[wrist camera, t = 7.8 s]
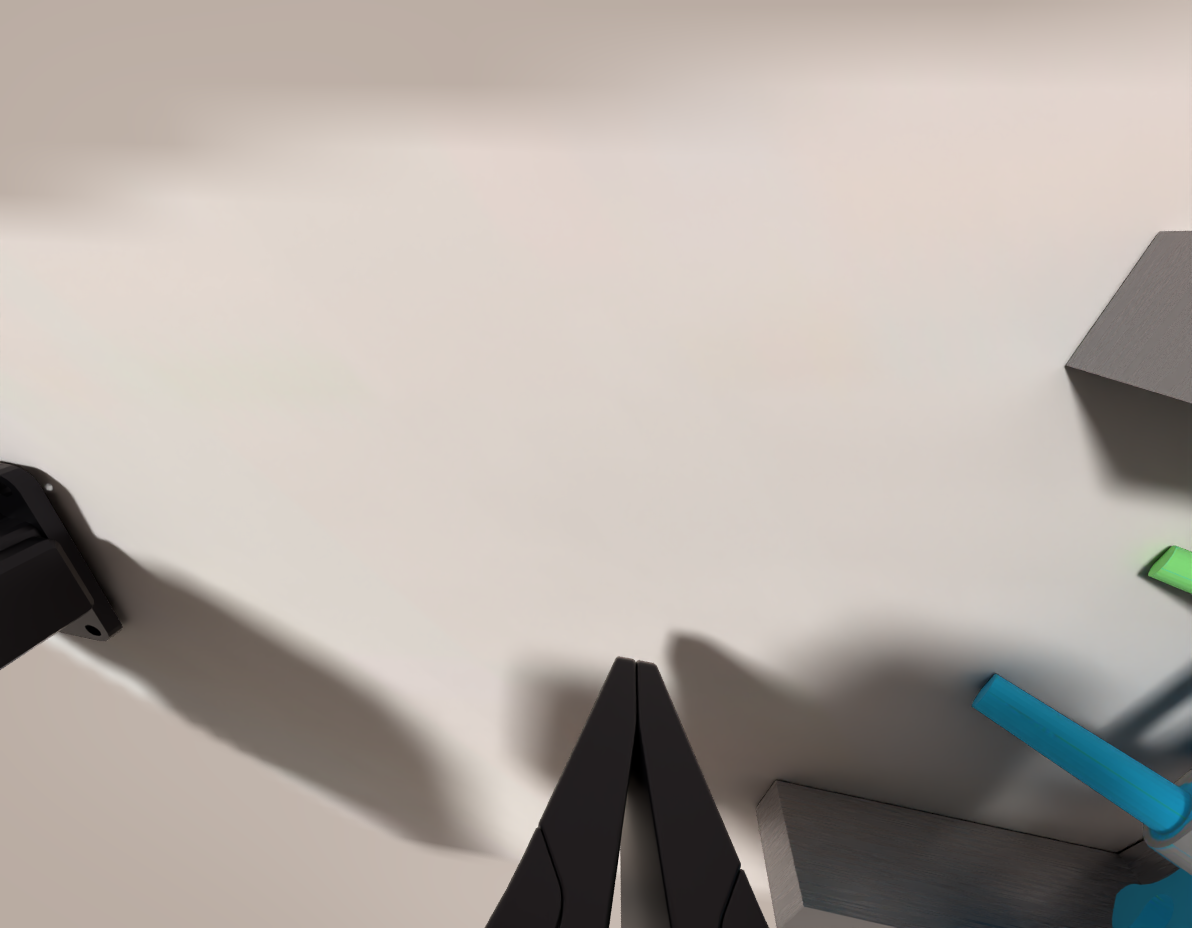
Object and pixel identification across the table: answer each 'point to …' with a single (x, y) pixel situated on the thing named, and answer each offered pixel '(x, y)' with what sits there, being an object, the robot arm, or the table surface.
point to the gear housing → (960, 848)
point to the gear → (1116, 780)
